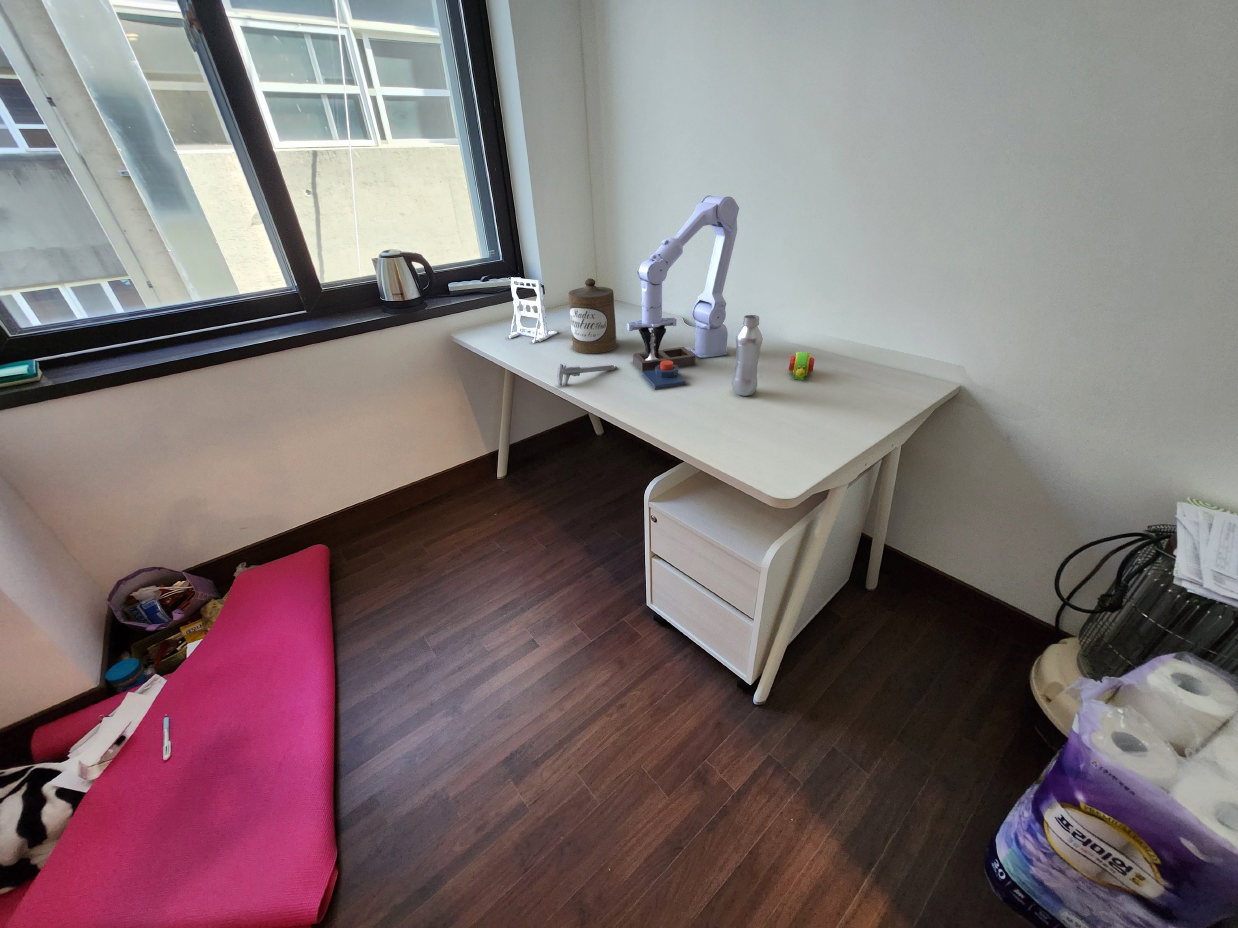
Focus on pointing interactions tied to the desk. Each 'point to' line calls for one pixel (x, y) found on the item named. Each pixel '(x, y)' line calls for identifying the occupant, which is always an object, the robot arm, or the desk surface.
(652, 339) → the chess piece
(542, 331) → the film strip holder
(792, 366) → the green wheeled toy
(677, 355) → the holder
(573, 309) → the wooden container
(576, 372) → the caliper
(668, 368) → the station button
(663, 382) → the station
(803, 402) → the desk surface
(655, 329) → the robot arm
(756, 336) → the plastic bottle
